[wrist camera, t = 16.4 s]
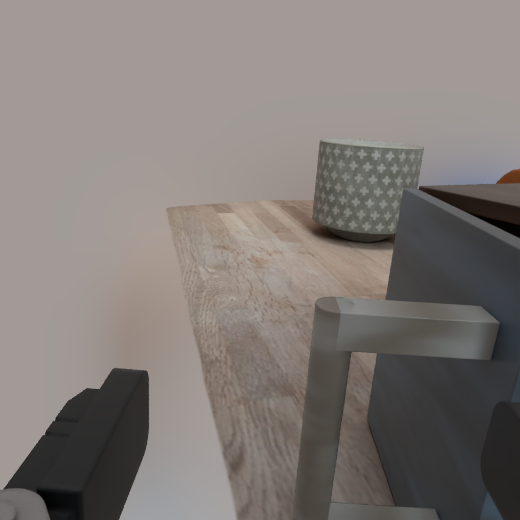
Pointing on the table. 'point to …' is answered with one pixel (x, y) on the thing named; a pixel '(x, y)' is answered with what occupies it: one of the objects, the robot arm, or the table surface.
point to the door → (419, 368)
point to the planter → (363, 186)
